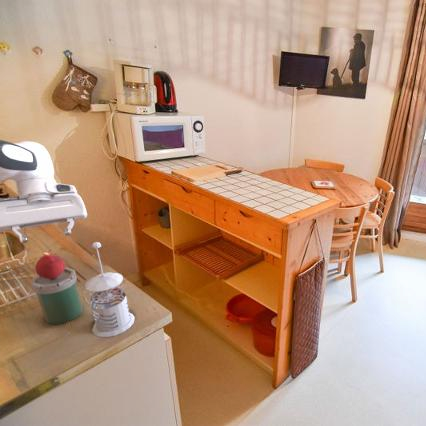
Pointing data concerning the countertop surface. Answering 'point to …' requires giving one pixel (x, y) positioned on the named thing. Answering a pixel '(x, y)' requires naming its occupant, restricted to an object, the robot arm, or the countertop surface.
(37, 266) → the onion
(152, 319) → the countertop surface
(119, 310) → the french press
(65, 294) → the jar
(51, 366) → the countertop surface
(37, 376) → the countertop surface
